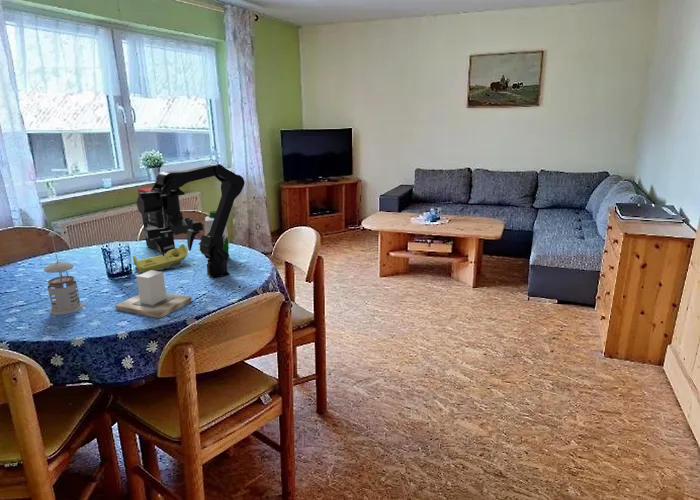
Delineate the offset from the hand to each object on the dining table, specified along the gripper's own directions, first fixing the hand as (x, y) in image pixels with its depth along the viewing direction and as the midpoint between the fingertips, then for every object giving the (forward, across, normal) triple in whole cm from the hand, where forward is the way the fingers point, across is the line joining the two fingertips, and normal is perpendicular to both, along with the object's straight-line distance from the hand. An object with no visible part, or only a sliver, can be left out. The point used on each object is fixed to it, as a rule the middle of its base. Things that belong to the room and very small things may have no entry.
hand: (176, 253), depth 164 cm
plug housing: (+10, -13, -13) cm, 21 cm away
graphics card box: (+12, +10, +55) cm, 57 cm away
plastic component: (+12, +2, +27) cm, 30 cm away
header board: (+12, -13, -13) cm, 22 cm away
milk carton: (+12, +23, +20) cm, 33 cm away
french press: (+12, -35, +4) cm, 37 cm away
